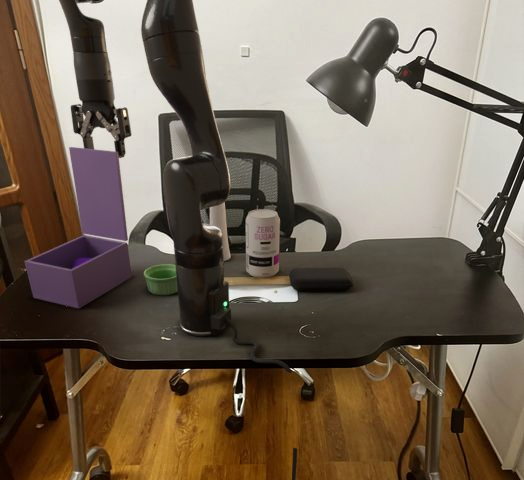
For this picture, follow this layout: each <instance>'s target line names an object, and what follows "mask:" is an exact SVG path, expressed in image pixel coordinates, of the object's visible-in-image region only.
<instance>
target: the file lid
mask: <svg viewBox="0 0 524 480" xmlns="http://www.w3.org/2000/svg"><path fill="white" fill-rule="evenodd" d="M68 150H69V156H70V163H71V169H72V175H73V181H74V182H73V183H74V188H75V195H76V202H77V208H78V215H79V221H80V227H81V233H82V235H88V236H93V237H99V238H105V239H110V240H116V241H122V242H128V241H129V237H128V228H127V227H128V226H127V220H126V219H127V217H126V210H125V201H124V191H123V183H122V174H121V164H120V158H119V155H118V152H115V150H114V151H113V150H106V149H105V150H104V149H95V148H94V149H86V148H84V147H75V146H70V147H69V146H68Z"/></svg>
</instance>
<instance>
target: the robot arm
mask: <svg viewBox="0 0 524 480" xmlns="http://www.w3.org/2000/svg"><path fill="white" fill-rule="evenodd" d="M193 1H194V0H146V3H145V6H144V11H143V14H142V18H141V25H140V35H141V40H142V43H143V44H142V45H143V49H144V54H145V57H146V63H147V67H148V71H149V74H150V77H151V79H152V81H153V83H154V84H155V86H156V88H157V90H158V91H159V92H160V94H161V95H162V97H163V98H164V99H165V100H166V102H167V103H168V104H169V106H170V107H171V108H172V110H173V111H174V112H175V114H176V115H177V117H178V119H179V120H180V121H181V123H182V125H183V127H184V130H185V133H186V135H187V138H188V142H189V146H190V150H191V155H187V156H182V157H178V158H173V159H170V160H169V161H168V162H167V163H166V165H165V167H164V170H163V174H162V187H163V195H164V202H165V203H164V204H165V210H166V216H167V223H168V228H169V232H170V235H171V237H172V242H173V252H174V265H176V277H177V288H178V292H177V298H178V309H179V324H180V325H179V326H180V327H179V328H180V329H181V331H182V332H184V333H185V334H187V335H189V336H195V337H209V336H210V337H211V336H212V337H217V336H219V334H221V332H222V331H225V329H226V328H227V327H228V326H229V328H230V329H231V330H232V341H233V342H234V343H235V344H236V345H239V346H251V345H252V346H254V347H253V349H252V350H251V351H250V353H249V358H250V360H251V361H252V362H254V363H256V364H261V365H262V364H263V365H277V366H280V367H282V368H283V370H285V372H287V373H288V374H292V372H293V371H292V369H291V368H290V366H289V365H288V364H287V363H285V362H283V361H282V360H279V359H274V358H258V357H256V356H255V355H256V354H257V352H258V350H259V349H260V345H259V343H258V342H257V341H256V340H253V339H251V340H250V339H249V340H240V339H238V329H237V327H236V325H235V324H234V323H233V322H232V309H231V308H230V287H229V285H230V284H229V281H228V280H225V263H224V262H225V261H224V260H223V259H224V258H223V235H222V231H221V230H220V229H219V228H218V227H216V226H213V225H210V223H204V222H203V218H202V210H206V209H210V207H214V206H217V205H220V204H222V203H224V202H227V200H228V198H229V196H230V193H231V176H230V171H229V165H228V161H227V158H226V153H225V151H224V147H223V144H222V139H221V136H220V133H219V128H218V125H217V120H216V116H215V112H214V107H213V103H212V102H213V101H212V98H211V93H210V87H209V84H208V78H207V73H206V72H207V71H206V65H205V58H204V52H203V45H202V43H201V42H202V41H201V37H200V31H199V30H200V29H199V26H198V22H197V16H196V12H195V7H194V2H193ZM58 2H59V4H60V6H61V10H62V11H63V14H64V17H65V21H66V23H67V27H68V31H69V36H70V42H71V49H72V54H73V56H72V57H73V68H74V69H73V70H74V75H75V80H76V87H77V94H78V99H79V101H81V103H77V104H71V105H70V114H71V121H72V122H71V123H72V130H73V133H74V134H76V135H80V137H81V138H82V144H83V148H86V149H95V146H94V138H93V135H92V134H93V132H94V130H95V129H96V128H100V129H106V131H107V132H108V133H110V135H111V136H112V138H113V139H114V141H113V143H114V151H115V152H118V155H119V159H122V158H124V157H125V155H126V145H125V139H128V138H129V137H130V138H131V137H132V129H131V123H130V122H131V121H130V116H129V112H128V111H129V110H128V108H127V107H125V106H124V107H118V108H117V107H116V106H115V99H116V95H115V87H114V80H113V71H112V65H111V60H110V56H109V52H108V51H109V50H108V44H107V43H108V42H107V34H106V28H105V25H104V22H103V21H102V20H100V19H98V18H95V17H91V16H87V15H85V14H84V13H83V12H82V10H81V9H80V7H79V5H80V4H83V5H86V4H87V5H100V4H102V3H104V2H106V0H58ZM78 4H79V5H78ZM291 463H292V464H291V466H292V467H291V480H297V467H298V465H297V464H298V448H296V447H292V462H291Z"/></svg>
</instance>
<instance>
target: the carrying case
mask: <svg viewBox="0 0 524 480" xmlns="http://www.w3.org/2000/svg"><path fill="white" fill-rule="evenodd" d="M288 279H289V284H290V286H291V287H292V288H293V289H292V290H295V291H296V292H340V291H341V292H344V291H345V292H346V291H349V290H350V289H351V288H352V287H353V286H354V281H353V279H352V277H351V274H350V272H349V271H348V270H347V269H346V268H345V267H341V266H340V267H333V266H331V267H330V266H325V267H322V266H321V267H320V266H316V267H314V266H313V267H294V268H292V269H290V271H289V272H288Z"/></svg>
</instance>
